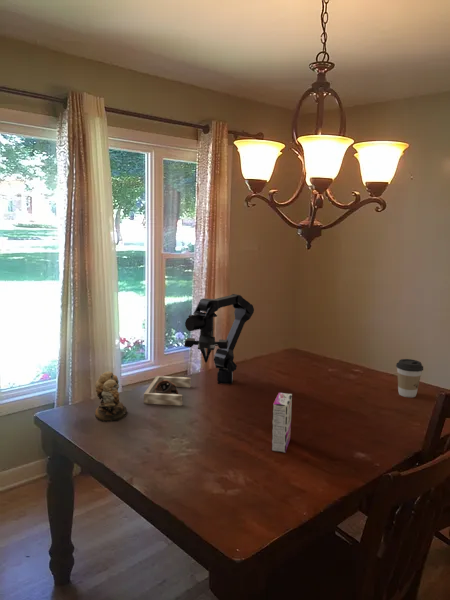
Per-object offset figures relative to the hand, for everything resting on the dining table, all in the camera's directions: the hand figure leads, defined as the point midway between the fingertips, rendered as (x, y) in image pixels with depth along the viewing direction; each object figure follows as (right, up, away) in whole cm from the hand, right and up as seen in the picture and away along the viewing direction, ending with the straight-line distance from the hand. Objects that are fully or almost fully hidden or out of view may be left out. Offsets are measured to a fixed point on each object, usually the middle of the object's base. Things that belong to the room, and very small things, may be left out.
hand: (206, 362), depth 215 cm
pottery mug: (-17, -14, -9) cm, 23 cm away
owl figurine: (-35, -16, -29) cm, 48 cm away
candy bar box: (+27, -22, -51) cm, 61 cm away
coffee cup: (+89, -15, +1) cm, 90 cm away
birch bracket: (-16, -13, -7) cm, 22 cm away
